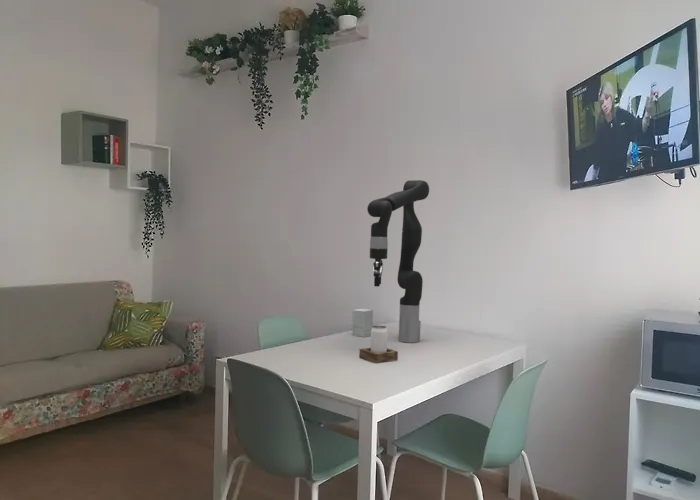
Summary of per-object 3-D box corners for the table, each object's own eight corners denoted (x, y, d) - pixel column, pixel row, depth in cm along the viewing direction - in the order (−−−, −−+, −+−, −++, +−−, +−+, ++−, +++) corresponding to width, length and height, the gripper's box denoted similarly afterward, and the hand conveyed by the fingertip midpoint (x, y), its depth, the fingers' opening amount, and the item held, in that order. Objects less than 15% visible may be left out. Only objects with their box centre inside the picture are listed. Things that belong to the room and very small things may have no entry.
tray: (381, 354, 232) (381, 346, 232) (397, 360, 223) (397, 351, 223) (359, 357, 226) (359, 348, 226) (375, 363, 217) (375, 354, 217)
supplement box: (372, 335, 274) (373, 309, 273) (363, 337, 268) (364, 311, 268) (361, 333, 279) (361, 308, 278) (351, 335, 273) (352, 309, 273)
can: (375, 358, 221) (376, 328, 220) (367, 355, 226) (368, 325, 226) (389, 357, 224) (390, 327, 223) (381, 353, 229) (382, 324, 229)
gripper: (371, 246, 246) (370, 283, 246) (368, 247, 232) (367, 286, 232) (388, 247, 245) (387, 284, 245) (386, 248, 231) (385, 287, 231)
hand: (377, 285), depth 239 cm, fingers open, 8 cm apart
